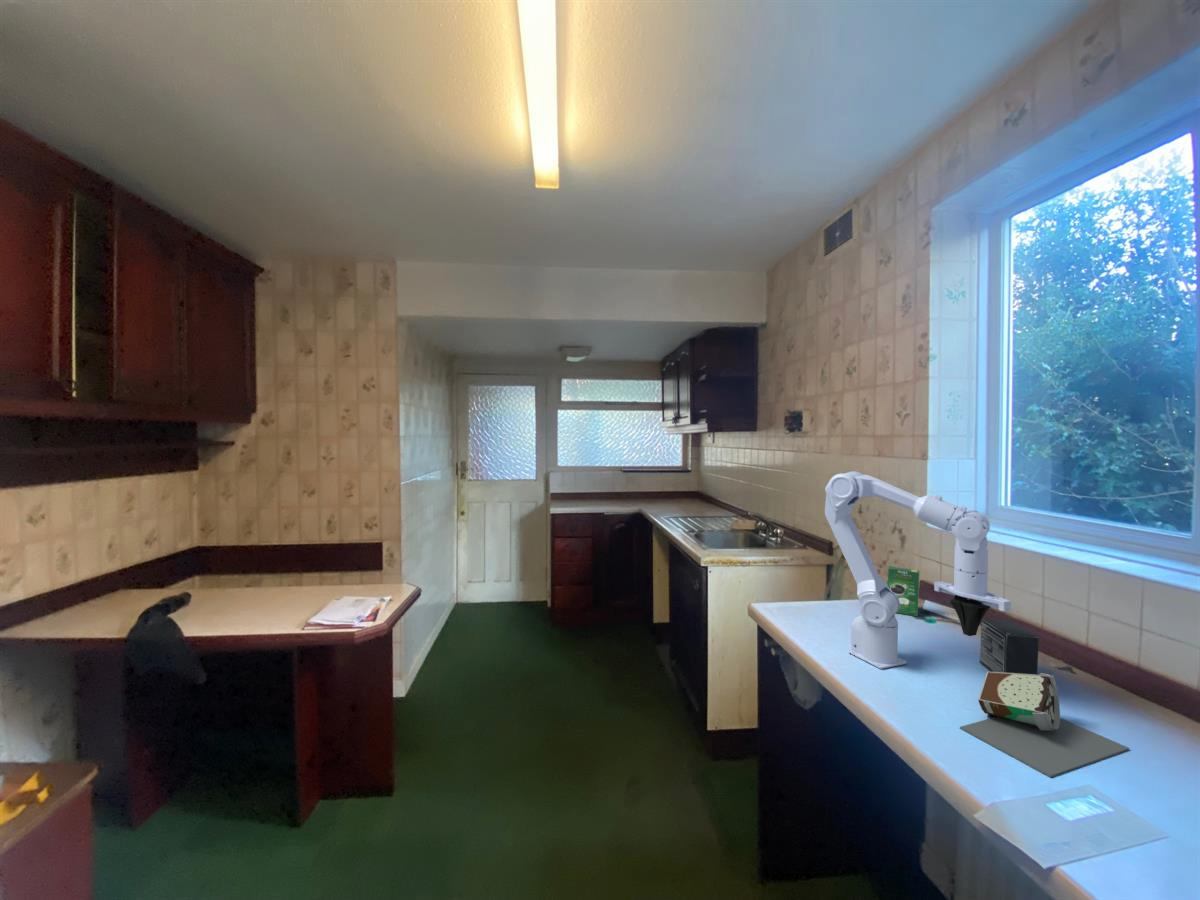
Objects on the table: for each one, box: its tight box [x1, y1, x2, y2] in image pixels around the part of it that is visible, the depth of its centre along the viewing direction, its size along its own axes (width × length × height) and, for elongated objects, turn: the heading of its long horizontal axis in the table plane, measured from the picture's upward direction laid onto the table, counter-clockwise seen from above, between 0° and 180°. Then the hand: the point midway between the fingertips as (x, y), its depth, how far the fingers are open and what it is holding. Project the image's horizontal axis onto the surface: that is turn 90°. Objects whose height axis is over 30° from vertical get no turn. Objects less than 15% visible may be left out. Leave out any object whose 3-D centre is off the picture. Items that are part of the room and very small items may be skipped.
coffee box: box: [887, 566, 920, 617], centre depth 150 cm, size 8×3×13 cm, turn 56°
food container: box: [977, 670, 1061, 731], centre depth 94 cm, size 12×6×10 cm
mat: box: [959, 716, 1130, 779], centre depth 89 cm, size 14×20×1 cm
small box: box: [979, 617, 1040, 675], centre depth 112 cm, size 11×6×10 cm, turn 168°
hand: (969, 634), depth 108 cm, fingers closed
